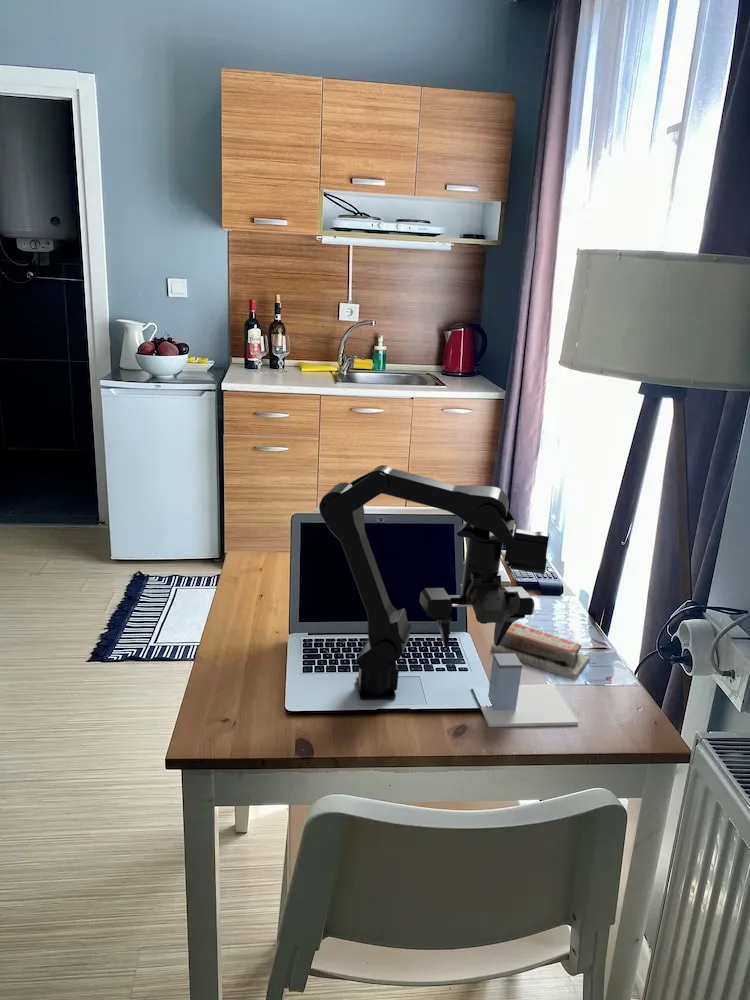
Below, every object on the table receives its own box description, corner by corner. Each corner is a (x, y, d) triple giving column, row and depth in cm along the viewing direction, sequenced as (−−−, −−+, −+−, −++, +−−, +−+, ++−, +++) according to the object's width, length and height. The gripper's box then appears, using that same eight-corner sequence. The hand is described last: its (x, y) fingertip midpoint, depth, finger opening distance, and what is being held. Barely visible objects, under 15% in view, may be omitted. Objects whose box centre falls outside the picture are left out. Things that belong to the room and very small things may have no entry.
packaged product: (491, 631, 154) (510, 614, 162) (488, 652, 156) (507, 634, 164) (578, 659, 146) (593, 639, 154) (575, 682, 147) (590, 661, 155)
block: (493, 710, 134) (499, 665, 131) (487, 697, 138) (493, 653, 135) (515, 709, 135) (522, 665, 132) (509, 697, 139) (515, 653, 136)
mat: (488, 727, 130) (489, 724, 130) (471, 688, 142) (471, 685, 142) (577, 724, 133) (578, 721, 133) (553, 687, 144) (554, 684, 144)
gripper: (442, 584, 117) (431, 672, 122) (554, 583, 122) (539, 668, 127) (423, 555, 128) (414, 638, 133) (527, 555, 132) (514, 635, 137)
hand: (470, 645), depth 132 cm, fingers open, 9 cm apart
